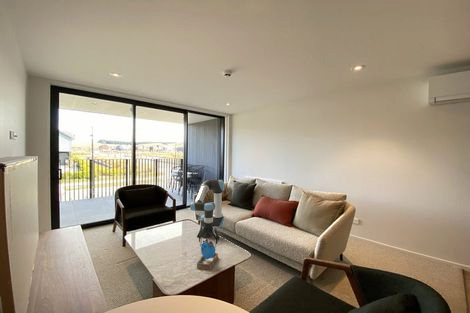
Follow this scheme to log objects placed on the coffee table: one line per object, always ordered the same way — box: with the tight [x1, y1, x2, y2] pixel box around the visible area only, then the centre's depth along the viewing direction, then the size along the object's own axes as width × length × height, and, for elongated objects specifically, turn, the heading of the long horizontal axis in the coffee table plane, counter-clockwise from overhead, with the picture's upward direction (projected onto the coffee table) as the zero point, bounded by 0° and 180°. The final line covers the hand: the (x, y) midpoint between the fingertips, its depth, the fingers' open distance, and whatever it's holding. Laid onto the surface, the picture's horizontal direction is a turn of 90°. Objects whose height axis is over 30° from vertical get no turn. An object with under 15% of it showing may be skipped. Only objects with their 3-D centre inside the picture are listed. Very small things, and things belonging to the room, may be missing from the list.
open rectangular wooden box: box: [196, 252, 219, 271], centre depth 168 cm, size 19×12×4 cm, turn 168°
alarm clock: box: [200, 238, 216, 259], centre depth 168 cm, size 13×6×15 cm, turn 45°
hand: (208, 246), depth 168 cm, fingers closed on alarm clock, 13 cm apart
